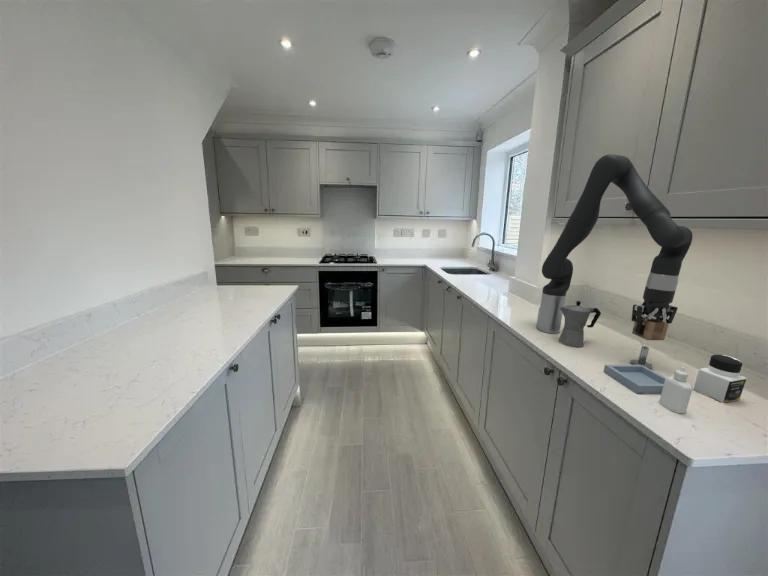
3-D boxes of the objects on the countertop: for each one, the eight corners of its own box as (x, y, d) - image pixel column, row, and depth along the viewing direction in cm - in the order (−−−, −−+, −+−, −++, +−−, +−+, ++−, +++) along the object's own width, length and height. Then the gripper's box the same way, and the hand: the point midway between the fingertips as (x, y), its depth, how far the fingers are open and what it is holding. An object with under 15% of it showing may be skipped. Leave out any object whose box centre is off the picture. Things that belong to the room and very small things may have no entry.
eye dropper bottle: (677, 404, 84) (688, 364, 81) (687, 415, 79) (699, 374, 76) (657, 400, 85) (667, 361, 83) (666, 411, 80) (677, 370, 78)
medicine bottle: (723, 403, 85) (736, 364, 82) (692, 389, 91) (703, 353, 89) (739, 400, 87) (752, 361, 84) (708, 386, 93) (719, 351, 91)
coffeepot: (558, 346, 120) (566, 303, 116) (549, 337, 130) (556, 297, 125) (600, 349, 118) (609, 306, 114) (588, 340, 127) (596, 299, 123)
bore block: (631, 333, 107) (635, 317, 105) (647, 333, 107) (652, 317, 106) (647, 340, 101) (651, 323, 99) (664, 340, 101) (668, 323, 100)
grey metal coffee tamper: (625, 361, 109) (630, 343, 107) (641, 361, 109) (645, 343, 108) (640, 369, 103) (645, 350, 101) (657, 369, 103) (661, 350, 102)
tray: (603, 371, 101) (604, 364, 100) (640, 371, 101) (641, 364, 101) (637, 394, 88) (639, 386, 88) (678, 393, 89) (681, 385, 88)
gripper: (669, 285, 104) (657, 330, 108) (630, 284, 103) (619, 330, 107) (692, 290, 96) (678, 339, 101) (650, 289, 96) (637, 338, 100)
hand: (648, 334), depth 104 cm, fingers closed on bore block, 6 cm apart
